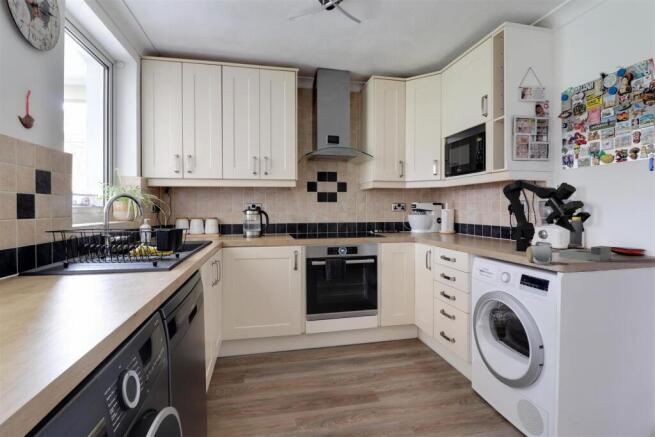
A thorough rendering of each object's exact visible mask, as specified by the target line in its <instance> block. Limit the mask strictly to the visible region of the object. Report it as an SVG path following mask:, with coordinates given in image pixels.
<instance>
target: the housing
mask: <svg viewBox="0 0 655 437" xmlns="http://www.w3.org/2000/svg"><path fill="white" fill-rule="evenodd" d="M611 247H612V246H607V245H606V246H605V245H597V246H591V247H590V250H585V249H577V248H569V249H568V248H567V249H560V250H559V251H558V252H559V253H558V257H559V258H561V257H562V258H569V259H578V260H585V261H594V262H604V261H610V260H612V252H611V250H612V249H611ZM609 259H610V260H609Z"/></svg>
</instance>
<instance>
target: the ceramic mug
mask: <svg viewBox="0 0 655 437" xmlns="http://www.w3.org/2000/svg"><path fill="white" fill-rule="evenodd" d="M525 253H526V259H527V261H528V262H530V263H535V264H536V265H540V266H548V265H550V264H551V263H552V261H553V251H552V248H551V247H550V246H549V245H531V246H530V247H528V248H527V251H525Z"/></svg>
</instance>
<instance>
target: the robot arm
mask: <svg viewBox="0 0 655 437" xmlns="http://www.w3.org/2000/svg"><path fill="white" fill-rule="evenodd" d="M524 190H526V191H529V192H532V193H533V194H535V196H536V197H538V198H539V199H541V200H547V201H545V202H544V207H547V208H549V207H550V208H551V210H552V211H551V212H550V213H549V214H548V216H547V217H545V222H546V223H547V224H548V225H553V224H554V225H555V226H558V227H561V228H563V229H565V230H567V231H569V232H570V231H571V232H574V231H575V230H574V228H573V227H572V225H571V224H570V221H572V217H581V222H583V225H582V233H584V232H585V228H584V223H585V222H586V221H587V220H589V218H590V217H591V216H592V215H591V213H590V212H588V211H579V212H578V213H576V212H577V210H579V209H582V208H583V207H584V206H585V204H584V202H583V201H582V200H571V201H568V202H567V203H565V201H567V200H569V199H570V198H571V197H572V195H573V194H575V193H576V191H577V188H576V187H575V186H573V185H572V184H569V183H568V182H561V184H560V185H559V186H558V187H557V188H556V187H551V186H542V185H539V184H536V183H534V182H531V181H528V180H527V179H516V180H515V181H514V182H511V183H509V184H507V185H505V186H504V187H503V188H502V193H503V195H504V197H505V198H506V199H507V200H508V201H509V203H510V205H511V208H512V211H513V214H514V217H515V221H516V226H515V232H514V233H513V234H512V240H515V251H517V252H526V251H527V248H528V247H530V246H532V243H531V242H530V241H533V239H534V236H535V234H536V228H535V226H534V223H533V222H529V221H528V219H527V216H526V213H525V210H524V207H523V204H522V201H521V199H520V197H521V194H522V191H524ZM575 213H576V214H575ZM555 221H556V222H555Z"/></svg>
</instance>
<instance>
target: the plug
mask: <svg viewBox="0 0 655 437" xmlns="http://www.w3.org/2000/svg"><path fill="white" fill-rule="evenodd" d="M569 222H570V224H571V225H572V227H573V228H574V230H575V231H574V232H571V231H569V241H568V242H569V243H568V246H570V247H571V246H572V247H583V242H582V241H583V232H582V225H583V226H584V223H583V222H581V217H572V221H571V220H569Z"/></svg>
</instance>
